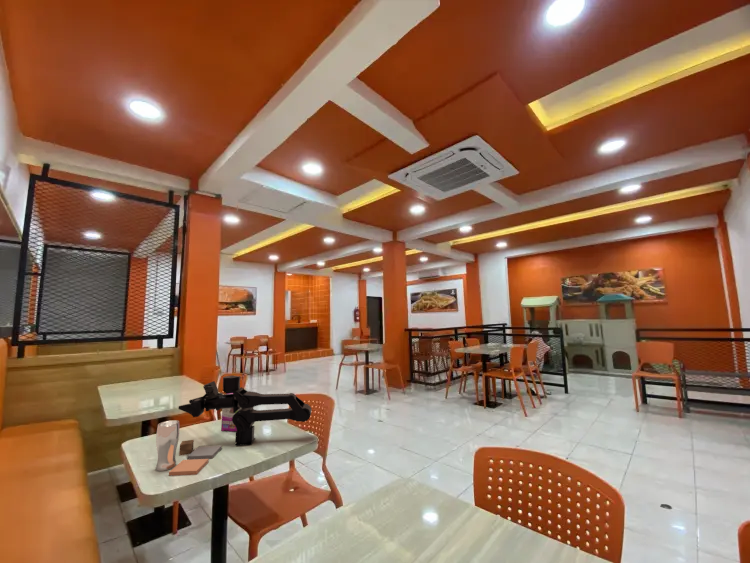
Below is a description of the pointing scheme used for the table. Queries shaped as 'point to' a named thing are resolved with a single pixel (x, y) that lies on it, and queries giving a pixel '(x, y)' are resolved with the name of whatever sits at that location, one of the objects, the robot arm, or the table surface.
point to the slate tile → (204, 452)
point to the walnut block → (186, 447)
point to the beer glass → (167, 444)
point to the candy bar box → (228, 420)
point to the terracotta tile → (189, 467)
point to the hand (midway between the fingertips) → (184, 404)
